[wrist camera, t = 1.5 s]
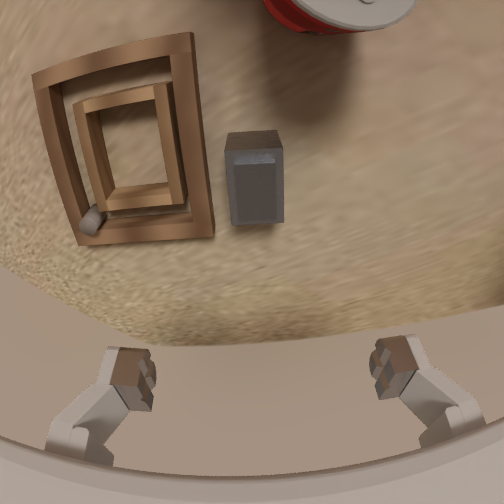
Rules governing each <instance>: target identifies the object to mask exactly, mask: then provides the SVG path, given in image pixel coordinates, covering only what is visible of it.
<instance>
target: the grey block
mask: <svg viewBox="0 0 504 504" xmlns="http://www.w3.org/2000/svg"><path fill="white" fill-rule="evenodd" d="M224 152H225V163H226V173H227V183H228V193H229V203H230V212H231V222H232V226H233V225H250V224H268V223H284V172H283V146H282V143H281V141H280V138H279V135H278V132H277V130H267V131H248V132H233V133H228V136H227V141H226V146H225V151H224Z"/></svg>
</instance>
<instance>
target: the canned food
mask: <svg viewBox="0 0 504 504" xmlns="http://www.w3.org/2000/svg"><path fill="white" fill-rule="evenodd" d="M417 1H418V0H263V2H264V4H265V6H266V8H267V9H268V11H269V12H270V13H271V15H272V16H273V17H274V18H275V19H276V20H277V21H278V22H280V23H281V24H283V25H284V26H286V27H287V28H289V29H292V30H294V31H296V32H299V33H302V34H306V35H314V36H319V35H332V34H342V33H355V32H365V31H372V30H378V29H383V28H385V27H388V26H391V25H393V24H396V23H398V22H399V21H401V20H402V19H403V18H405V17H406V16H408V14H409V13H410V12H411V11H412V10H413V8H414V7H415V5H416V3H417Z"/></svg>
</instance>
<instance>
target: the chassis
mask: <svg viewBox="0 0 504 504" xmlns="http://www.w3.org/2000/svg"><path fill="white" fill-rule="evenodd" d="M168 55H170V63H171V72H172V81H167V82H161V83H155V84H149V85H144V86H139V87H134V88H129V89H124V90H119V91H115V92H110V93H106V94H102V95H98V96H94V97H90V98H86V99H84V100H82V101H79V102H77V103H75V104H73V110H74V115H75V120H76V125H77V129H78V134H79V138H80V143H81V147H82V151H83V155H84V159H85V163H86V167H87V171H88V174H89V178H90V182H91V185H92V189H93V192H94V196H95V199H96V204H94V205H92V207H91V208H90V206H89V203H88V200H87V197H86V193H85V190H84V187H83V183H82V180H81V176H80V172H79V169H78V165H77V161H76V157H75V153H74V149H73V145H72V141H71V137H70V132H69V128H68V123H67V119H66V114H65V109H64V104H63V98H62V93H61V87H60V82H63V81H66V80H69V79H72V78H75V77H78V76H82V75H85V74H88V73H92V72H96V71H99V70H103V69H107V68H111V67H115V66H119V65H123V64H127V63H132V62H137V61H141V60H146V59H151V58H157V57H162V56H168ZM31 76H32V82H33V88H34V93H35V98H36V104H37V109H38V113H39V118H40V122H41V127H42V131H43V135H44V139H45V143H46V147H47V151H48V155H49V158H50V162H51V166H52V169H53V173H54V176H55V179H56V183H57V186H58V189H59V192H60V195H61V198H62V201H63V204H64V207H65V210H66V213H67V216H68V219H69V222H70V224H71V227H72V230H73V233H74V235H75V238H76V240H77V243H78V246H87V245H100V244H113V243H127V242H141V241H156V240H170V239H186V238H202V237H214V230H215V219H214V212H213V204H212V197H211V189H210V181H209V173H208V165H207V157H206V148H205V140H204V131H203V122H202V113H201V103H200V94H199V84H198V74H197V64H196V53H195V42H194V33H192V32H185V33H178V34H172V35H166V36H161V37H155V38H150V39H146V40H141V41H136V42H132V43H128V44H124V45H119V46H116V47H112V48H108V49H104V50H101V51H97V52H94V53H91V54H87V55H84V56H81V57H78V58H75V59H72V60H69V61H66V62H63V63H60V64H57V65H55V66H52V67H49V68H47V69H44V70H42V71H39V72H37V73H34V74H32V75H31ZM151 99H155V105H156V112H157V119H158V125H159V132H160V138H161V144H162V150H163V156H164V162H165V168H166V173H167V179H168V182H166V183H156V184H147V185H139V186H131V187H123V188H115V185H114V181H113V177H112V173H111V169H110V165H109V160H108V156H107V152H106V147H105V143H104V138H103V133H102V128H101V123H100V118H99V113H98V110H101V109H105V108H109V107H114V106H119V105H124V104H129V103H134V102H139V101H145V100H151ZM187 193H188V194H189V200H190V206H191V212H183V213H171V214H159V215H148V216H137V217H126V218H116V219H107V220H104V218H105V217H106V215H107V211H111V210H120V209H129V208H139V207H149V206H160V205H171V204H183V203H184V202H185V199H186V196H187Z"/></svg>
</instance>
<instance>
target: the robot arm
mask: <svg viewBox="0 0 504 504" xmlns="http://www.w3.org/2000/svg"><path fill="white" fill-rule="evenodd" d="M375 346H376V350H374V351H373V352H372V353H371V356H370V362H369V367H370V372H371V375H372V377H374V378H375V379H376V380H377V381H376V384H375V388H376V392H377V395H378V398H379V400H383V399H389V398H395V397H399V399H400V400H401V401H402V402H403V403H404V404H405V405H406V406H407V407H408V408H409V409H410V410H411V411H412V412H413V413H414V414H415V415H416V416H417V417H418V418H419V419H420V420H421V421H422V422H423V423H424V424H425V425H426V426H427V427H428V429H427V430H425V431H424V432H423V433H422V434H421V435H420V437H419V441H420V445H421V448H420V449H417V450H414V451H410V452H406V453H403V454H399V455H395V456H391V457H387V458H383V459H378V460H374V461H369V462H365V463H360V464H354V465H349V466H343V467H337V468H331V469H324V470H317V471H309V472H300V473H290V474H278V475H261V476H194V475H178V474H165V473H156V472H147V471H139V470H131V469H125V468H119V467H113V461H114V455H113V454H112V453H111V452H110V451H109V450H108V449H107V448H106V447H105V446H104V445H103V444H104V443H105V442H106V441H107V439H108V438H109V437H110V436H111V434H112V433H113V432H114V431H115V429H116V428H117V427H118V426H119V425H120V423H121V422H122V421H123V420H124V418H125V417H126V416H127V415H128V413H129V412H130V411H129V410H131V411H146V412H151V410H152V404H153V397H154V396H153V394H152V392H151V390H152V389H153V388H154V387H155V384H156V368H155V364H154V362H153V361H151V360H150V356H151V354H150V352H149V350H148V349H139V348H124V347H111V346H108V348H107V349H106V350H105V354H104V357H103V360H102V363H101V367H100V370H99V374H98V377H97V380H96V383H92V384H91V385H90V386H88V387H87V389H85V390H84V391H83V392H82V393H81V394H80V395H79V396H78V397H77V398H76V399H75V400H74V401H72V402H71V403H70V404H69V405H68V406H67V407H66V408H65V409H64V410H63V411H62V412H61V413H60V414H59V415H57V416H56V417H55V418H54V419H53V420H52V424H51V427H50V431H49V434H48V438H47V442H46V445H45V449H44V450H41V449H37V448H34V447H31V446H28V445H25V444H22V443H19V442H16V441H13V440H10V439H8V438H5V437H2V436H0V504H504V417H502V418H500V419H498V420H496V421H494V422H492V423H489V424H487V425H486V422H485V420H484V417H483V415H482V412H481V410H480V407H479V405H478V403H477V400H476V398H475V397H474V396H472V395H471V394H469V393H468V392H467V391H466V390H464V389H463V388H462V387H461V386H459V385H458V384H457V383H455V382H454V381H452V380H451V379H450V378H449V377H447V376H446V375H445V374H443V373H442V372H441V371H440V370H438V369H437V368H436V367H431V365H430V363H429V361H428V358H427V356H426V354H425V352H424V350H423V348H422V346H421V343H420V341H419V339H418V337H417V336H416V335H415V334H410V335H404V336H402V335H401V336H395V337H388V338H381V339H378V340H377V342H376V344H375Z"/></svg>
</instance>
